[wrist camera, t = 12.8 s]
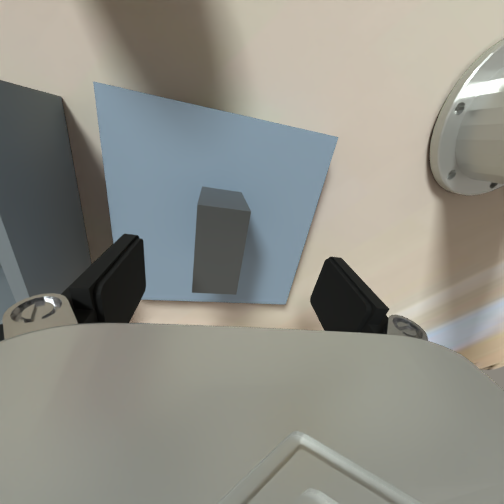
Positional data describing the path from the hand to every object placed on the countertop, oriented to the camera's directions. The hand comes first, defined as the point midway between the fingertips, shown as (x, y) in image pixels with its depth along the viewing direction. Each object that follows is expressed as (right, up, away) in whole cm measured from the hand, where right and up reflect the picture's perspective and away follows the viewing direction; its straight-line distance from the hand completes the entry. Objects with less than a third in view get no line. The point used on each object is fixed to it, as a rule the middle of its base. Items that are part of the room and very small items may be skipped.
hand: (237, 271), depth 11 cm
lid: (-2, +4, +9) cm, 10 cm away
